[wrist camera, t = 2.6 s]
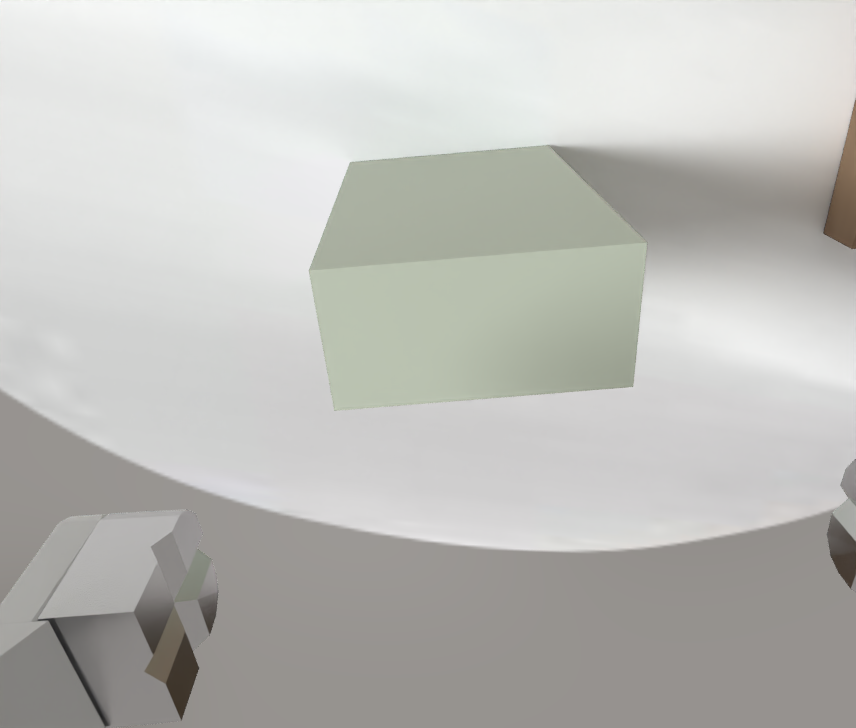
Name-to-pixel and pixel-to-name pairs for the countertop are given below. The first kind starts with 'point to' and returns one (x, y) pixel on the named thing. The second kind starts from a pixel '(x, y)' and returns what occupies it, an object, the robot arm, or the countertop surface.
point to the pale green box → (474, 281)
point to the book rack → (845, 194)
